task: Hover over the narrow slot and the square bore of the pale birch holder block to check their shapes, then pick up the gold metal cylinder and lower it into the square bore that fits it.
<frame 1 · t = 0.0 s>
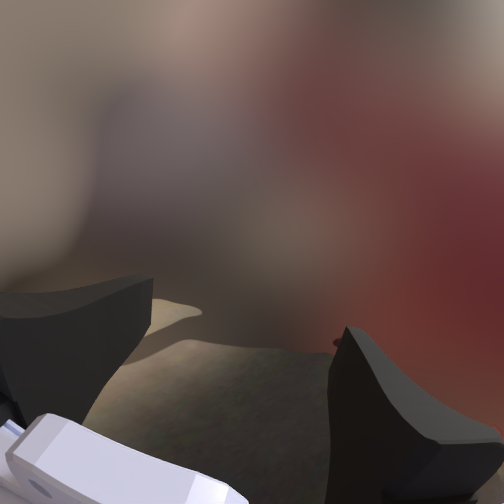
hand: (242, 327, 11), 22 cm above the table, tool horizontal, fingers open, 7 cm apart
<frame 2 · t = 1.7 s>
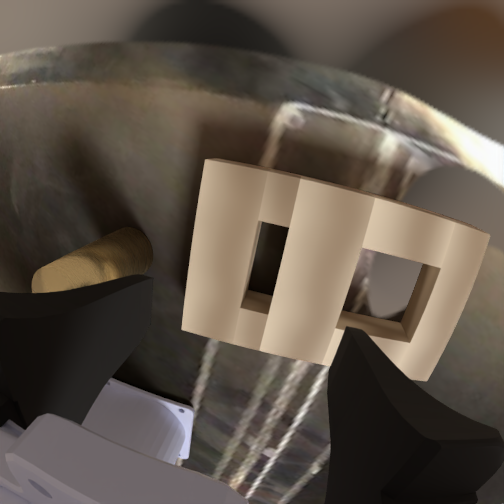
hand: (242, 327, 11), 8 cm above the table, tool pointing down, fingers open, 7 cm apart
holder: (334, 270, 19), on the table
gold metal cylinder: (130, 251, 21), on the table
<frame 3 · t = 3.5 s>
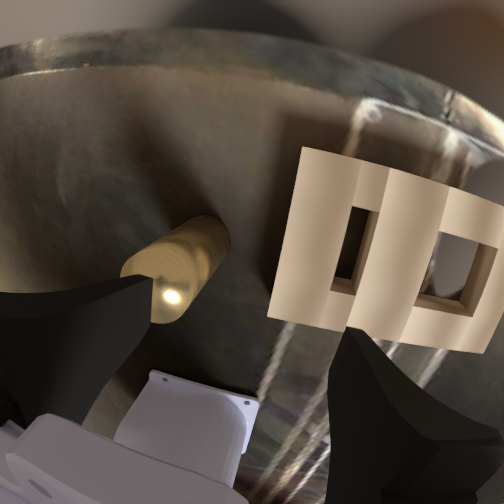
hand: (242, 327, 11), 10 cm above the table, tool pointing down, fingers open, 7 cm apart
holder: (406, 254, 19), on the table
gold metal cylinder: (205, 240, 21), on the table
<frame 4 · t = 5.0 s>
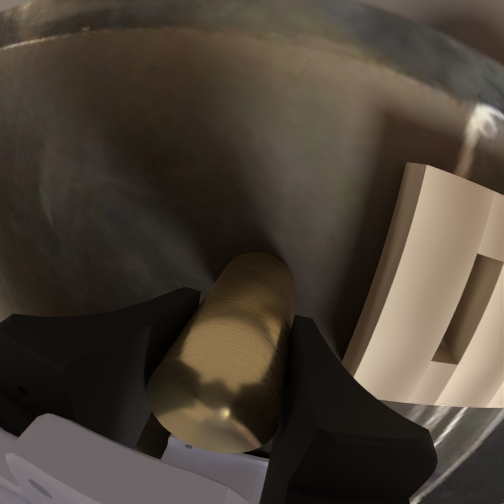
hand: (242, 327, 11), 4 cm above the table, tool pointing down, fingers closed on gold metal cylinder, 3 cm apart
holder: (503, 304, 13), on the table
gold metal cylinder: (257, 287, 15), on the table, touching gripper
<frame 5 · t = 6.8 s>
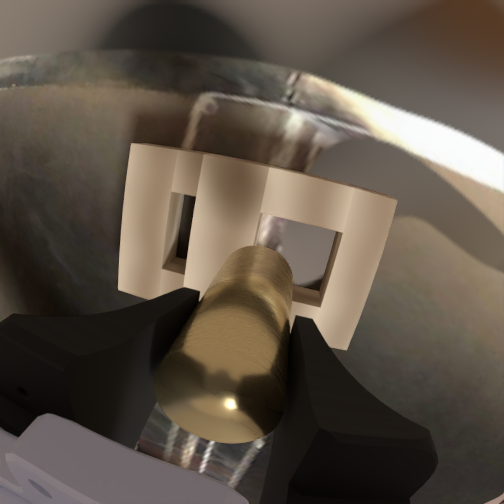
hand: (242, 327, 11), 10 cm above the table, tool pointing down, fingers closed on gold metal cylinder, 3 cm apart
holder: (248, 238, 21), on the table
gold metal cylinder: (256, 280, 15), point 7 cm above the table, touching gripper
when the fingers open (5 cm above the table, at t = 8.4 s): gold metal cylinder stays where it is, resting in holder.
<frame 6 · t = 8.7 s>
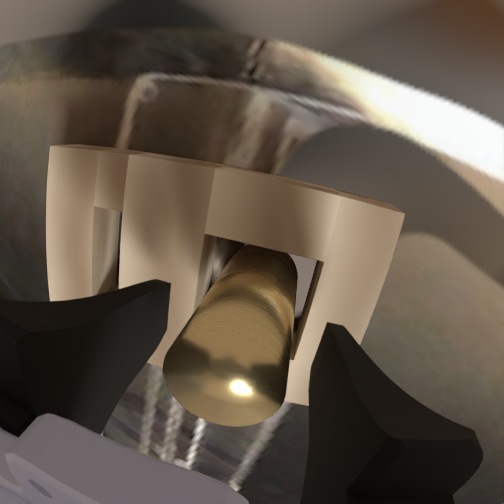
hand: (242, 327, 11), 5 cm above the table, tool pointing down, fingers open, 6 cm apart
holder: (200, 264, 16), on the table
gold metal cylinder: (262, 276, 16), resting in holder
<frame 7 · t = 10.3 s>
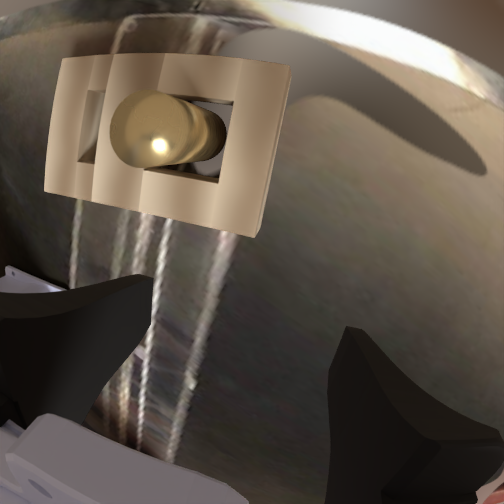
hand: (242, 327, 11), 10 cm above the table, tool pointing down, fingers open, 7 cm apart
holder: (158, 132, 20), on the table
gold metal cylinder: (200, 135, 20), resting in holder
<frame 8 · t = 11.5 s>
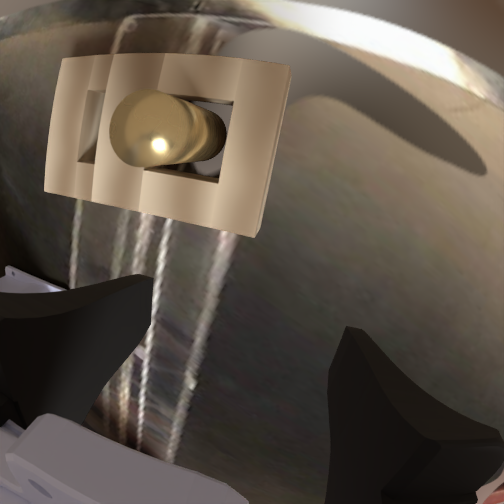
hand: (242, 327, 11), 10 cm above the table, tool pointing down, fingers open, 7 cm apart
holder: (158, 132, 20), on the table
gold metal cylinder: (200, 135, 20), resting in holder
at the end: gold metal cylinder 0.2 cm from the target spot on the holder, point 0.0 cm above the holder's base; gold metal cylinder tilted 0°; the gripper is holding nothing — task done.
